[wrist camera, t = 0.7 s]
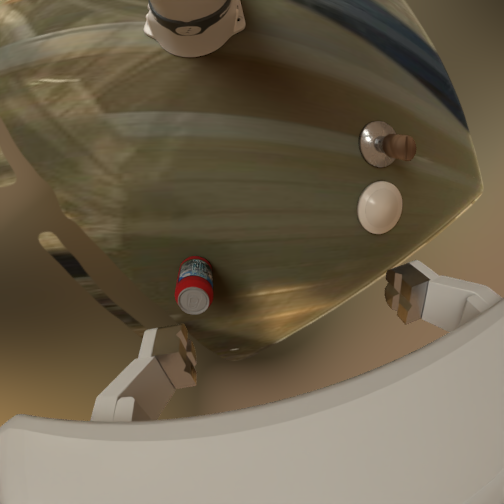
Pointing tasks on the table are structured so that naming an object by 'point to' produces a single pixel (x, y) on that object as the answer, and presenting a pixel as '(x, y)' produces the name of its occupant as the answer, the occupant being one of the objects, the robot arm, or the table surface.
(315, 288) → the table surface
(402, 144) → the cap
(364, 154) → the pedestal
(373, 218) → the saucer
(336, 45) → the table surface
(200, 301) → the beverage can
